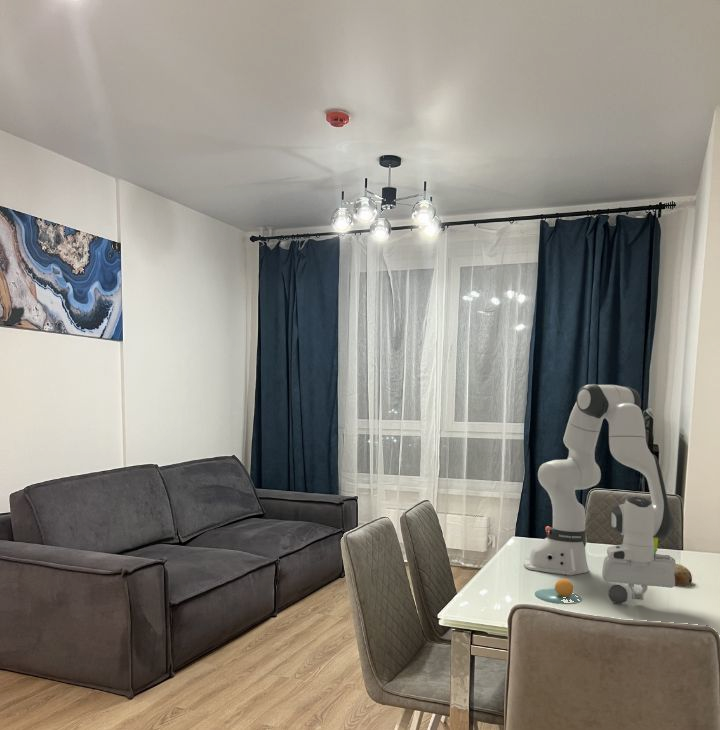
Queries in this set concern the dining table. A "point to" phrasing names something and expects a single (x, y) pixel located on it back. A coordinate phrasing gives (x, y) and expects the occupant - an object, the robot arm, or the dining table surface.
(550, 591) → the teal patterned plate
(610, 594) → the dark gray ball
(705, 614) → the dining table surface
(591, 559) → the dining table surface
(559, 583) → the object ball
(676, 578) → the bread roll
